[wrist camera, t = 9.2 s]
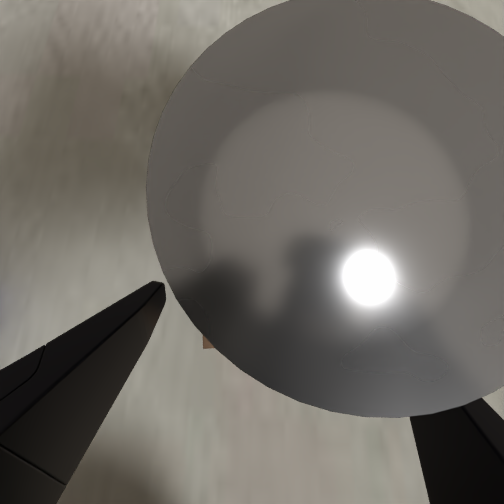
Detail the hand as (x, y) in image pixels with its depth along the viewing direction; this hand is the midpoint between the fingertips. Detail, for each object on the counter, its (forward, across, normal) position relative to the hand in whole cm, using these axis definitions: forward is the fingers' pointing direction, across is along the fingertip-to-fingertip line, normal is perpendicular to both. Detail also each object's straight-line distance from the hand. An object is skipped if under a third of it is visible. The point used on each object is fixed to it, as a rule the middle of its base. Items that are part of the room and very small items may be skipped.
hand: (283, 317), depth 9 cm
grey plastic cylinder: (+7, 0, +3) cm, 8 cm away
